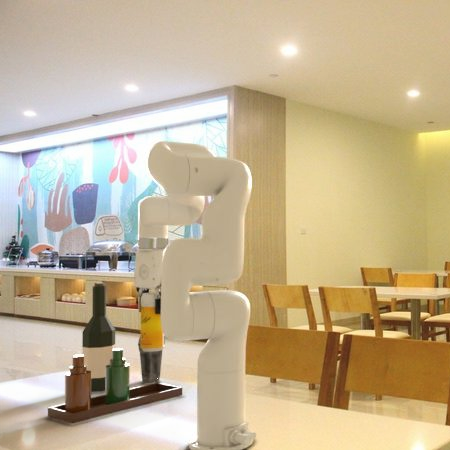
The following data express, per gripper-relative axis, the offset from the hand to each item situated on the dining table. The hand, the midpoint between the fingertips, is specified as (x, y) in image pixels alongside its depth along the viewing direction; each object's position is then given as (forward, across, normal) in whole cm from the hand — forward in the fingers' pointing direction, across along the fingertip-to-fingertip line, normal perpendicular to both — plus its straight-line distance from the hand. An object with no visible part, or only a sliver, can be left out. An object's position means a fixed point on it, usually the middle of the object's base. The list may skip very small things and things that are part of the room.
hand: (153, 312), depth 161 cm
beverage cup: (+23, -16, +10) cm, 30 cm away
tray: (+23, 0, -10) cm, 25 cm away
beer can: (+10, 0, 0) cm, 10 cm away
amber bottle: (+22, 0, -20) cm, 30 cm away
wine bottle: (+23, -21, -2) cm, 31 cm away
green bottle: (+22, 0, -10) cm, 24 cm away
